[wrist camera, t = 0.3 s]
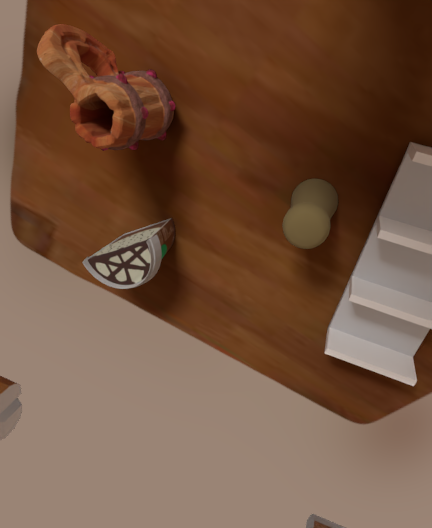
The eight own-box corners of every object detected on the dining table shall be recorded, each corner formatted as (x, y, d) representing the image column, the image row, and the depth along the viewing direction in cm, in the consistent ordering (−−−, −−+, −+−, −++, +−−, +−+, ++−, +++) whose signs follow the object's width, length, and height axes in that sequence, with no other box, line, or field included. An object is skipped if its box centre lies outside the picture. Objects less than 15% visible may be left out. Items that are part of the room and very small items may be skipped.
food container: (133, 269, 67) (99, 300, 58) (116, 236, 65) (79, 262, 56) (196, 251, 61) (170, 282, 53) (180, 214, 59) (150, 240, 51)
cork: (332, 172, 50) (325, 197, 41) (343, 217, 52) (339, 250, 43) (285, 185, 53) (269, 212, 43) (298, 227, 55) (285, 261, 45)
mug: (196, 119, 53) (143, 137, 40) (151, 151, 57) (90, 177, 44) (131, 13, 50) (51, -5, 37) (89, 55, 53) (3, 52, 41)
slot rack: (410, 141, 46) (416, 151, 41) (521, 171, 44) (542, 185, 39) (327, 328, 60) (324, 353, 55) (409, 357, 58) (413, 386, 53)
